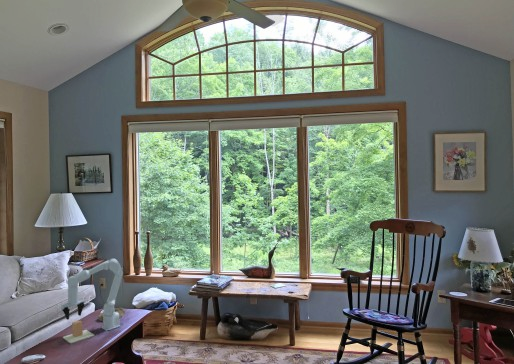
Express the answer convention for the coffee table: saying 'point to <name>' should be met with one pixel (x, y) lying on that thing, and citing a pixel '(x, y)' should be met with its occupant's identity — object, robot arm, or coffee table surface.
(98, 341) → the coffee table surface
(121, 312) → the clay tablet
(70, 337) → the grey mat
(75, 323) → the terracotta block
